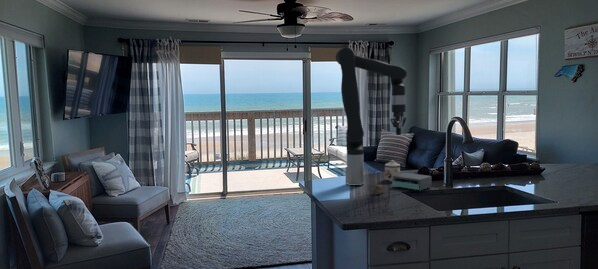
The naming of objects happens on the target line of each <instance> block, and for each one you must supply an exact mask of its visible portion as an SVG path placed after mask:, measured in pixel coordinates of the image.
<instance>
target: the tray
mask: <svg viewBox="0 0 598 269" xmlns="http://www.w3.org/2000/svg"><path fill="white" fill-rule="evenodd" d="M404 181H405V179H404V180H401V181H391V183H392V184H391V187H393V186H397V187H403V188H409V189H416V190H419V184H418V181H417V184H413V183H406V182H404ZM403 188H402V189H403ZM409 189H408V190H409ZM416 190H415V191H416Z"/></svg>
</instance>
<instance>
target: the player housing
mask: <svg viewBox="0 0 598 269" xmlns="http://www.w3.org/2000/svg"><path fill="white" fill-rule="evenodd" d="M404 179H405V180H413V181H418V184H419V191H418V192H422V191H424V190H423V189H425V190H428V189H430V187H431V188H433V187H432V175H425V174H418V173H417V174H416V173H410V172H409V173H408V172H402V173H400V174H398V175H395V176H393V181H401V180H404ZM427 188H428V189H427ZM407 190H409V188H408V189H407ZM421 190H422V191H421ZM413 191H416V189H414V190H413Z"/></svg>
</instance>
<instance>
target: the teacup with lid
mask: <svg viewBox="0 0 598 269" xmlns="http://www.w3.org/2000/svg"><path fill="white" fill-rule="evenodd" d="M398 174H401V164H400V163H397V162H396V161H395V160H394V159H391V160H390V161H389V162H387V163H385V164H384V180H385V179H386V180H393V176H395V175H398ZM386 180H385V181H386Z"/></svg>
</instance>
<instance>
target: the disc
mask: <svg viewBox="0 0 598 269" xmlns="http://www.w3.org/2000/svg"><path fill="white" fill-rule="evenodd" d="M404 182H406V183H413V184H417V181H413V180H405V181H404Z"/></svg>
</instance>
